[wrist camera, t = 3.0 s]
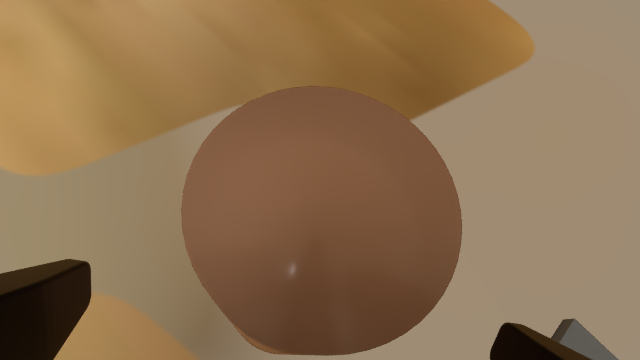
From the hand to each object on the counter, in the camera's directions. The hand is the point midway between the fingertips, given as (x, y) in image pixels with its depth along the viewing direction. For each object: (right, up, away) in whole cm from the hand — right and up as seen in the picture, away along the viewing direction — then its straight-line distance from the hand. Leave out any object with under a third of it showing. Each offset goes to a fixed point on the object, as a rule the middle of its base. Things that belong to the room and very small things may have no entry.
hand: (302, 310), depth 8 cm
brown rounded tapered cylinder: (-1, -3, +10) cm, 10 cm away
